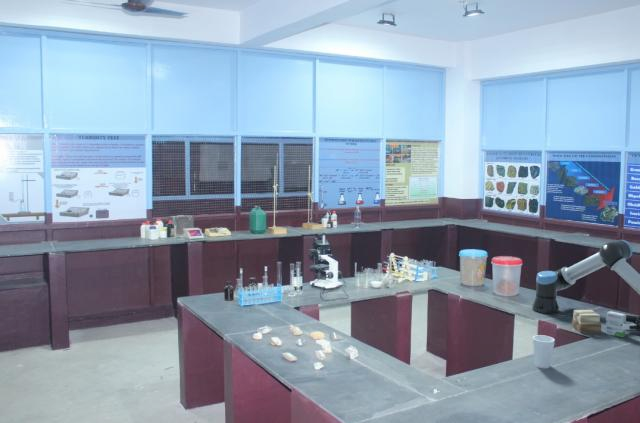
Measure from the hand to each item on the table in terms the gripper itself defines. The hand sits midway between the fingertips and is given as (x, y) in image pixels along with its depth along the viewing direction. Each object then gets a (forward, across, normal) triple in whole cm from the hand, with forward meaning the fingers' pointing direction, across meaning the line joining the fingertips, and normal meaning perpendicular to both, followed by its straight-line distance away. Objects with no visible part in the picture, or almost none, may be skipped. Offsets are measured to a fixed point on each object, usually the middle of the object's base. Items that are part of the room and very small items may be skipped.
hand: (615, 322), depth 301 cm
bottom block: (+12, +8, -7) cm, 16 cm away
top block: (+12, +9, -2) cm, 15 cm away
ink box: (0, 0, -7) cm, 7 cm away
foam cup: (+55, -40, -7) cm, 68 cm away
